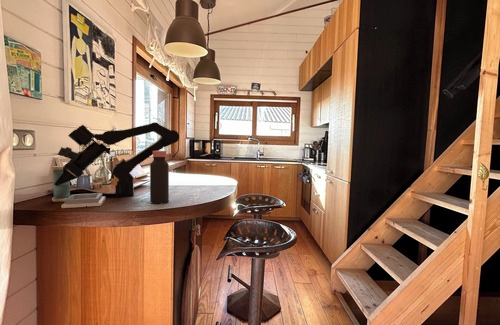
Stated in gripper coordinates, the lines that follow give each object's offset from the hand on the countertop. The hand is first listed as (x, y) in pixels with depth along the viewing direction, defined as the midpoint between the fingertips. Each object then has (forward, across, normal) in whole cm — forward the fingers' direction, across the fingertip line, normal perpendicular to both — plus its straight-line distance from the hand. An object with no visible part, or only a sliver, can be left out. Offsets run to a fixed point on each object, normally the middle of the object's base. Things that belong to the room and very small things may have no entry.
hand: (57, 183), depth 98 cm
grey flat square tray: (-2, +9, +11) cm, 15 cm away
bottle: (-19, +19, +29) cm, 40 cm away
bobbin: (+4, 0, +6) cm, 7 cm away
